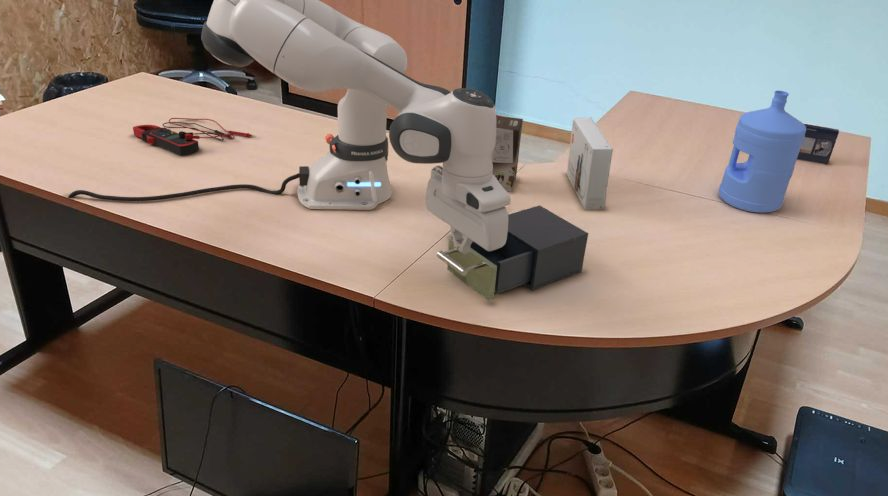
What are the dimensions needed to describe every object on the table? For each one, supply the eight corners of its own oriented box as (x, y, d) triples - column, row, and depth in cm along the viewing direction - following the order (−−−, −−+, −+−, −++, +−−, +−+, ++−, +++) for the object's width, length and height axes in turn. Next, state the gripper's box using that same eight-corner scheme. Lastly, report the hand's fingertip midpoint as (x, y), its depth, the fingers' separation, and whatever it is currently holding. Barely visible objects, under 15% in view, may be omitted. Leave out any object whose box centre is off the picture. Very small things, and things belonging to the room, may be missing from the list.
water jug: (780, 194, 192) (814, 89, 177) (782, 219, 179) (819, 107, 164) (718, 183, 196) (747, 79, 181) (716, 206, 183) (747, 96, 168)
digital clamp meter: (183, 145, 184) (123, 120, 196) (185, 162, 186) (126, 136, 198) (255, 122, 200) (196, 100, 212) (256, 138, 203) (198, 115, 214)
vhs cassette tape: (761, 152, 217) (771, 120, 212) (761, 149, 219) (771, 117, 214) (827, 165, 212) (839, 132, 206) (827, 161, 214) (839, 129, 209)
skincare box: (563, 174, 194) (572, 116, 186) (584, 174, 195) (593, 117, 186) (582, 210, 177) (593, 147, 168) (604, 210, 177) (616, 148, 169)
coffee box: (512, 192, 183) (519, 130, 174) (486, 188, 184) (492, 127, 175) (516, 178, 190) (523, 118, 182) (492, 174, 191) (498, 114, 183)
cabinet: (532, 290, 144) (538, 250, 139) (486, 258, 154) (490, 219, 149) (581, 272, 152) (588, 233, 147) (534, 242, 161) (539, 205, 156)
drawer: (468, 308, 136) (471, 275, 132) (427, 276, 145) (428, 243, 141) (537, 282, 145) (542, 250, 141) (495, 253, 154) (498, 222, 150)
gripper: (418, 165, 135) (416, 231, 143) (488, 208, 122) (482, 279, 129) (446, 158, 139) (442, 223, 146) (517, 200, 125) (509, 269, 132)
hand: (461, 250), depth 137 cm, fingers closed
